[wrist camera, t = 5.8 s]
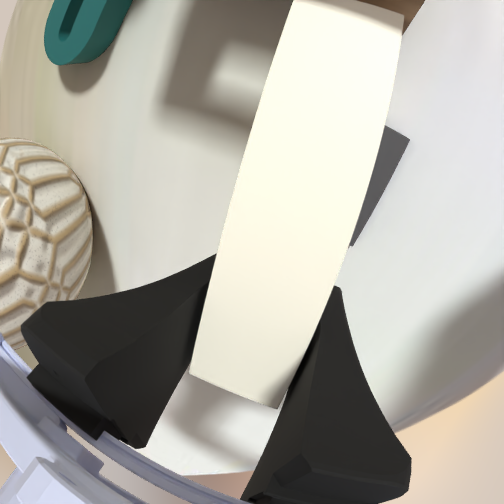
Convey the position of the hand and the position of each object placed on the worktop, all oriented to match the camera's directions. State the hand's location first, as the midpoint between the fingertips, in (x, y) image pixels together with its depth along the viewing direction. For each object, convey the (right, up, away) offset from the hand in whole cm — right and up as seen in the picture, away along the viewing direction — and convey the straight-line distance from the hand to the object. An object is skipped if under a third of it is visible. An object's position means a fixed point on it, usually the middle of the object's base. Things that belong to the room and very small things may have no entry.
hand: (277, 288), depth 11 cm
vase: (-18, +6, +11) cm, 22 cm away
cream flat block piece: (+2, +4, +1) cm, 4 cm away
